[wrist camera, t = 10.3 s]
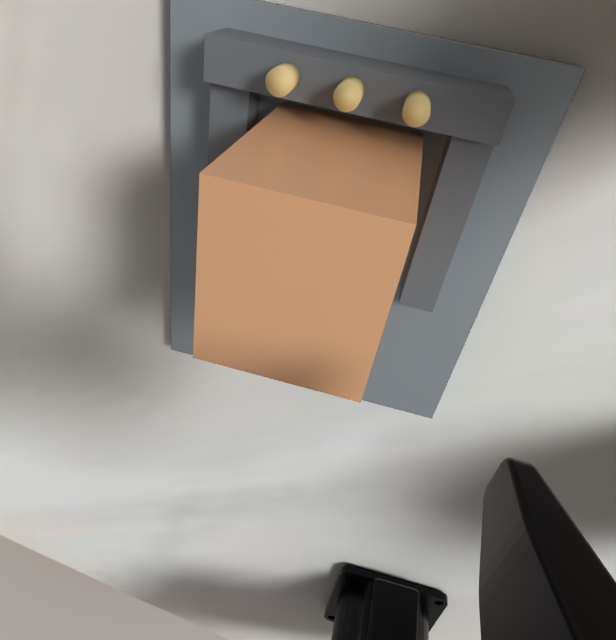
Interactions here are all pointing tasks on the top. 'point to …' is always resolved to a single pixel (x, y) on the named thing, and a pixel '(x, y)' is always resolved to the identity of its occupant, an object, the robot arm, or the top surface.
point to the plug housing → (304, 247)
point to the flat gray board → (385, 108)
